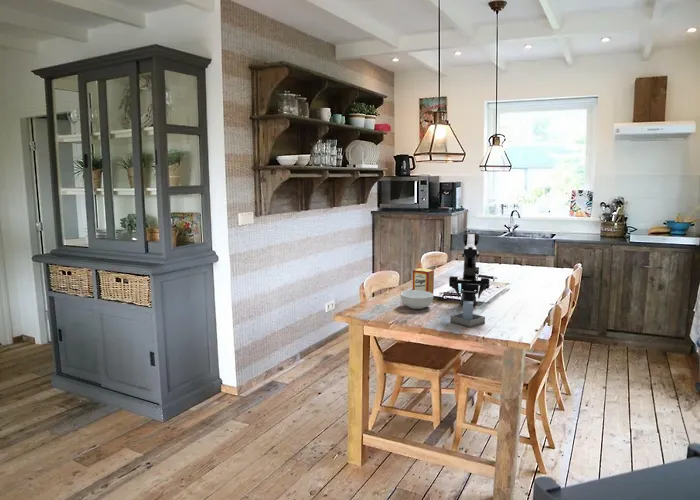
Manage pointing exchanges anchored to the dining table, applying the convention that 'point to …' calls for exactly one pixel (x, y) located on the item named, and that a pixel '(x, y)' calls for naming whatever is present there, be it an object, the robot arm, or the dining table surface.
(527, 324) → the dining table surface
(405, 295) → the cereal bowl
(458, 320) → the tray
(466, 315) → the slate block
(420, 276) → the baking soda box
